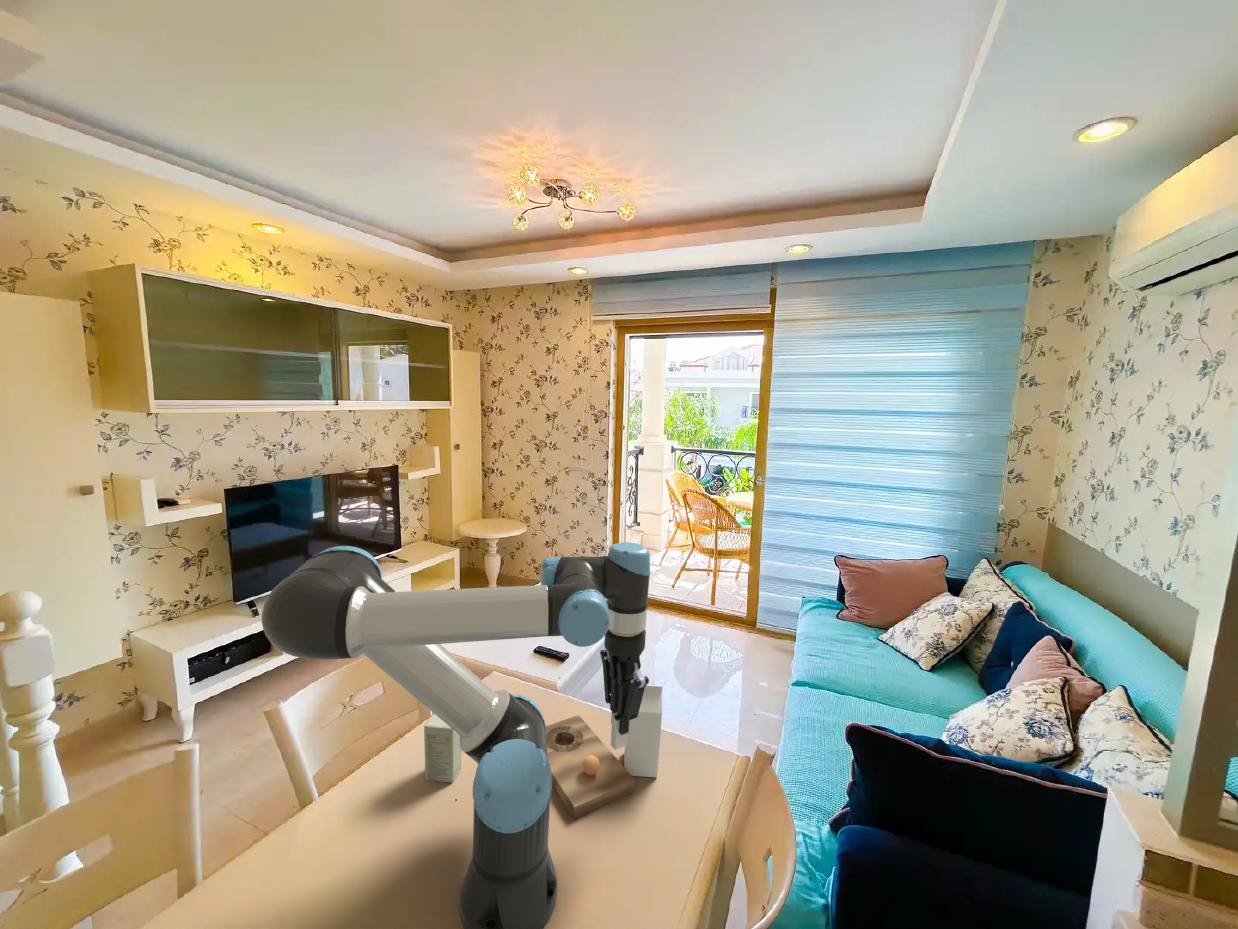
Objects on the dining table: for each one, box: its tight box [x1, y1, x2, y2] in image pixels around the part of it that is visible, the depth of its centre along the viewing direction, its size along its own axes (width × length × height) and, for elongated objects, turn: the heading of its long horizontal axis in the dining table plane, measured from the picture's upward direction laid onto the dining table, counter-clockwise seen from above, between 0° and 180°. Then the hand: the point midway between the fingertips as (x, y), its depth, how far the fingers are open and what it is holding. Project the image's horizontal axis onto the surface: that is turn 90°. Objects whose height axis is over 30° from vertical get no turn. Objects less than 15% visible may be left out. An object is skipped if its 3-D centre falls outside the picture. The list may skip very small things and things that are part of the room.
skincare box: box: [423, 713, 462, 783], centre depth 104 cm, size 6×4×12 cm
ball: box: [583, 755, 600, 776], centre depth 104 cm, size 4×4×4 cm
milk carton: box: [623, 684, 663, 778], centre depth 109 cm, size 7×7×19 cm
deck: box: [546, 714, 636, 820], centre depth 109 cm, size 24×14×2 cm, turn 33°
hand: (618, 745), depth 95 cm, fingers closed
